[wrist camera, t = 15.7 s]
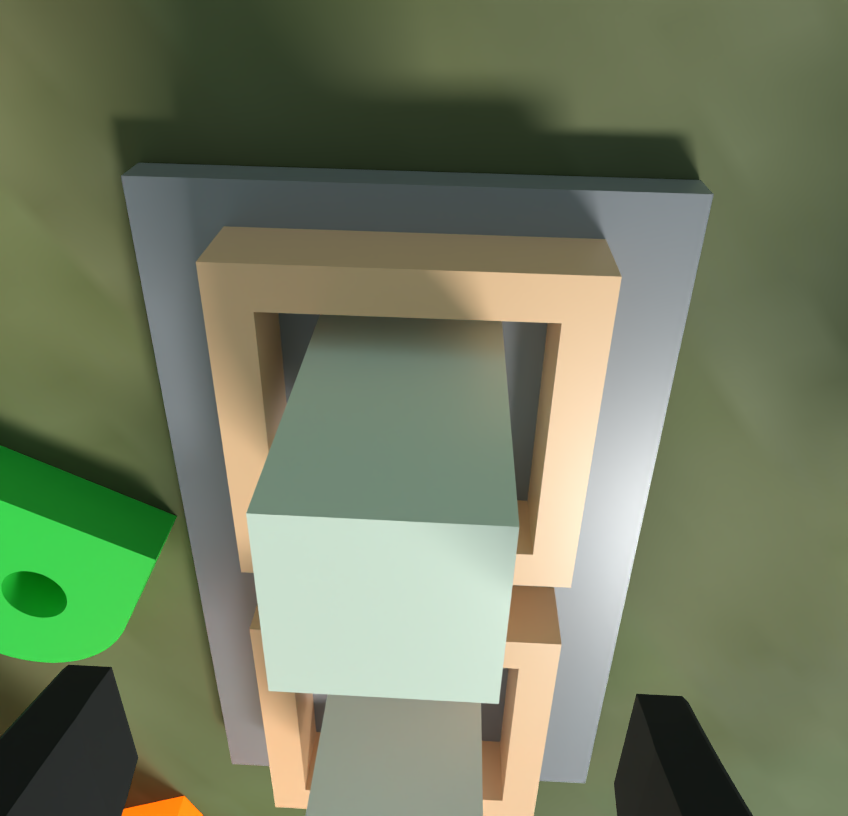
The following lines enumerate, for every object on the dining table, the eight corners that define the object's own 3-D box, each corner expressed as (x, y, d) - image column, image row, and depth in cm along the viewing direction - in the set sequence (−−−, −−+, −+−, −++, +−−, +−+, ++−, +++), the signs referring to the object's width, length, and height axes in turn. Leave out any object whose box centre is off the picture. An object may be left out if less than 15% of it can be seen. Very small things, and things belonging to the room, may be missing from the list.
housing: (700, 180, 16) (743, 227, 14) (581, 756, 27) (593, 842, 25) (138, 162, 17) (79, 206, 14) (239, 737, 27) (216, 821, 25)
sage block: (501, 317, 17) (519, 527, 11) (489, 463, 19) (498, 704, 13) (321, 310, 17) (245, 513, 11) (328, 456, 19) (268, 690, 14)
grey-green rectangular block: (479, 625, 22) (483, 878, 17) (470, 713, 25) (472, 966, 19) (341, 617, 23) (295, 866, 17) (344, 705, 25) (306, 954, 19)
